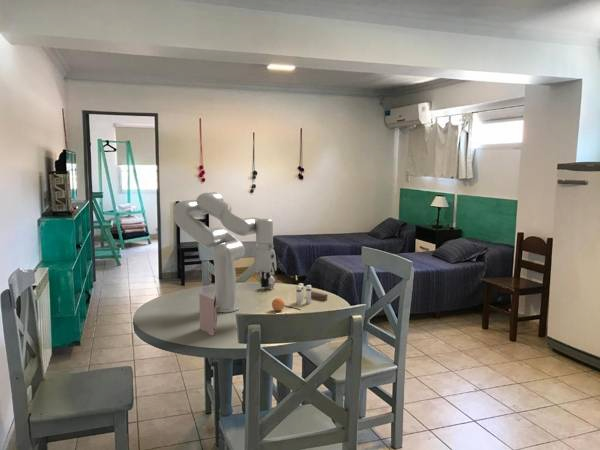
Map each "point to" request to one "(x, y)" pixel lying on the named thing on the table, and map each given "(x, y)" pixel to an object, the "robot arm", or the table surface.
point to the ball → (278, 304)
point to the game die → (271, 282)
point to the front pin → (298, 295)
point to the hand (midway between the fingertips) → (265, 286)
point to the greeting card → (208, 314)
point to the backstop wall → (318, 296)
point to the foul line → (292, 307)
